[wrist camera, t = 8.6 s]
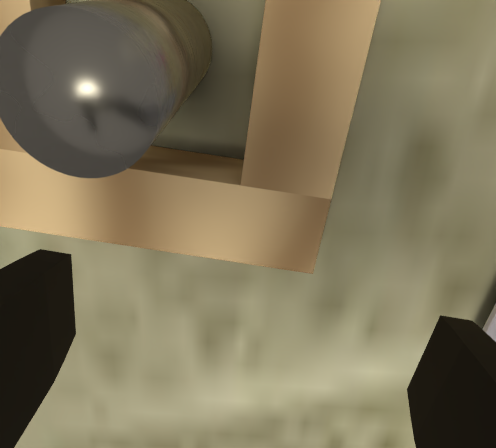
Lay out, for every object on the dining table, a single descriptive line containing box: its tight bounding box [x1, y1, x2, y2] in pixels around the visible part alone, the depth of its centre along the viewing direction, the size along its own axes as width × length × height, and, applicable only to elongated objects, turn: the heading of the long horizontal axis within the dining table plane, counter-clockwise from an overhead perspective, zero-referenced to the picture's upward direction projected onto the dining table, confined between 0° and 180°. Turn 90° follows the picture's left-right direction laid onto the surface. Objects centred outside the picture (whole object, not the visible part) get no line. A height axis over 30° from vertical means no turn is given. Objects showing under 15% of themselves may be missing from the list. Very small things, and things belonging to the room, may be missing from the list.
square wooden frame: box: [0, 0, 381, 274], centre depth 15 cm, size 14×14×2 cm
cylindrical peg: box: [0, 0, 212, 178], centre depth 13 cm, size 4×4×8 cm
